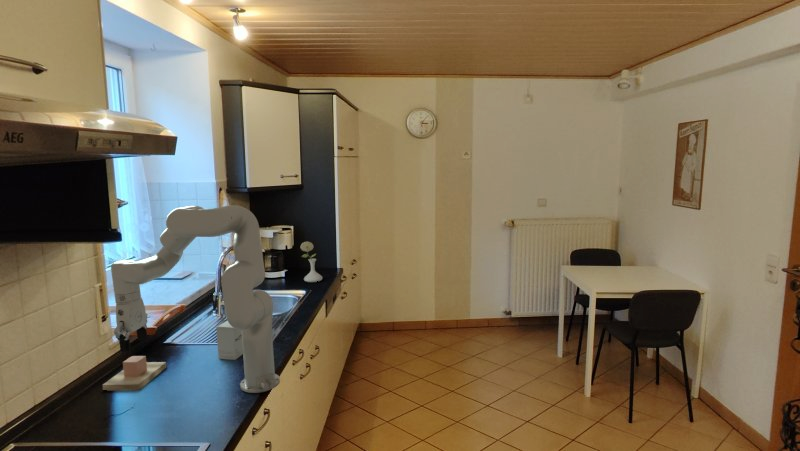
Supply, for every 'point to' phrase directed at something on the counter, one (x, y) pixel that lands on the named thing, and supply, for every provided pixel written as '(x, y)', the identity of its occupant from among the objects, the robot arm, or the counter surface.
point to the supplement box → (229, 342)
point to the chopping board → (134, 378)
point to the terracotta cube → (135, 366)
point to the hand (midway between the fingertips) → (134, 345)
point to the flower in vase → (313, 275)
